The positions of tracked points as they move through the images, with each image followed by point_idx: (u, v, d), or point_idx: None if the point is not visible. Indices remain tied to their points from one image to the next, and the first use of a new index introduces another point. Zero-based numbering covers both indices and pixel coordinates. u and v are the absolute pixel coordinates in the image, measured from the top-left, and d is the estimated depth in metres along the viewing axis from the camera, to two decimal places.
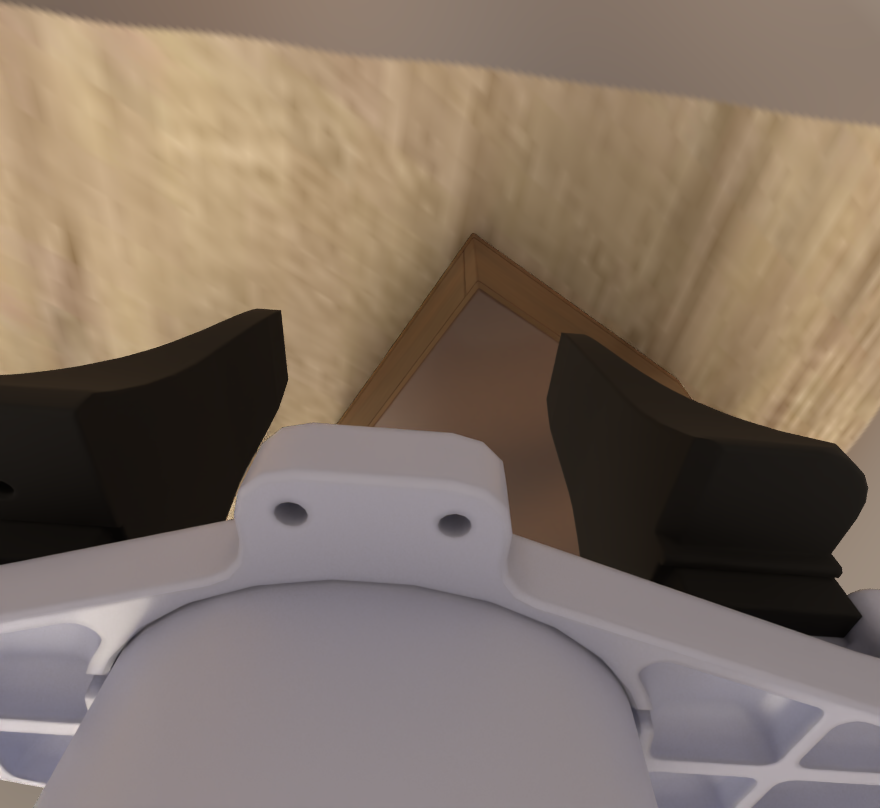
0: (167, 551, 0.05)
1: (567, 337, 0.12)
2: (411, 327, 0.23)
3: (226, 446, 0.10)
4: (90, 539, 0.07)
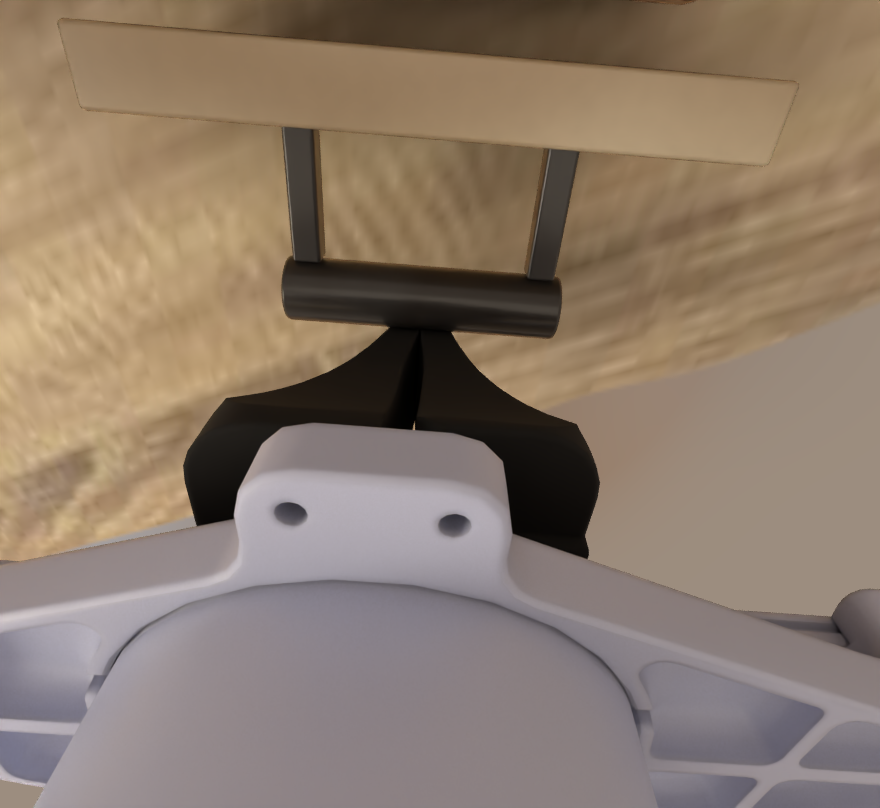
0: (167, 551, 0.05)
1: None
2: None
3: None
4: None
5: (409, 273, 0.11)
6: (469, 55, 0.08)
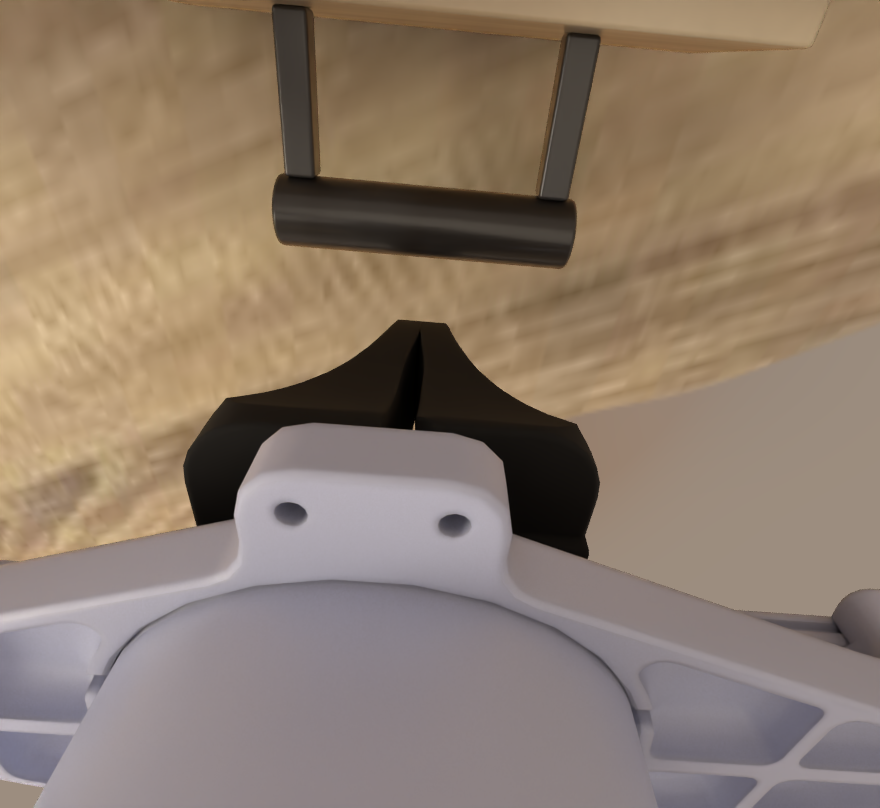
0: (167, 550, 0.05)
1: (421, 326, 0.12)
2: None
3: None
4: None
5: (410, 191, 0.10)
6: None
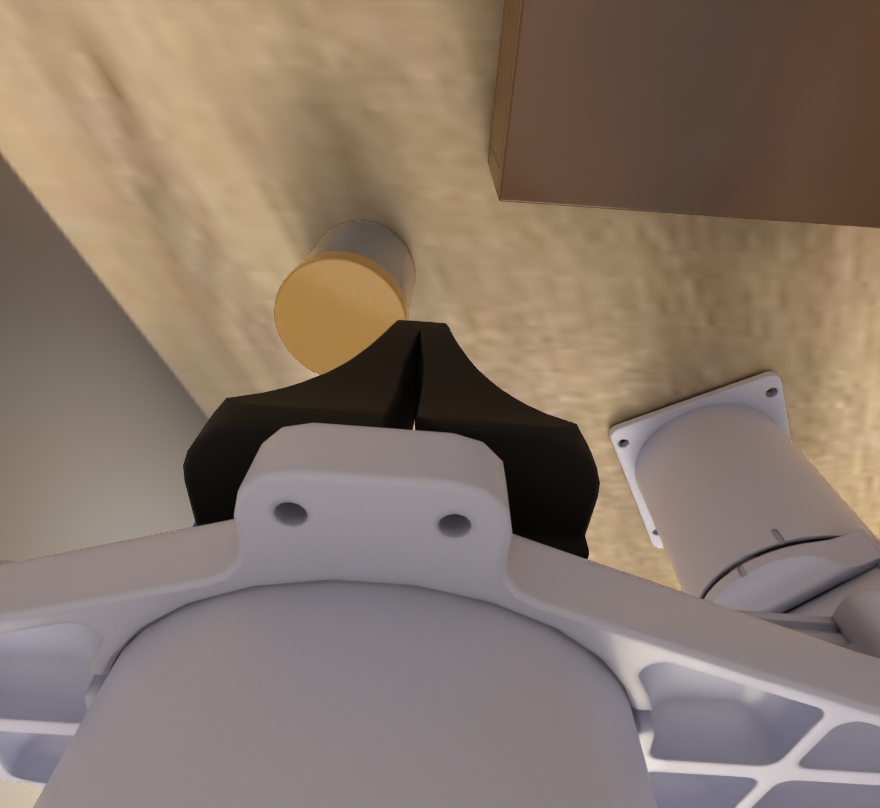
0: (167, 551, 0.05)
1: (421, 325, 0.12)
2: None
3: None
4: None
5: None
6: None
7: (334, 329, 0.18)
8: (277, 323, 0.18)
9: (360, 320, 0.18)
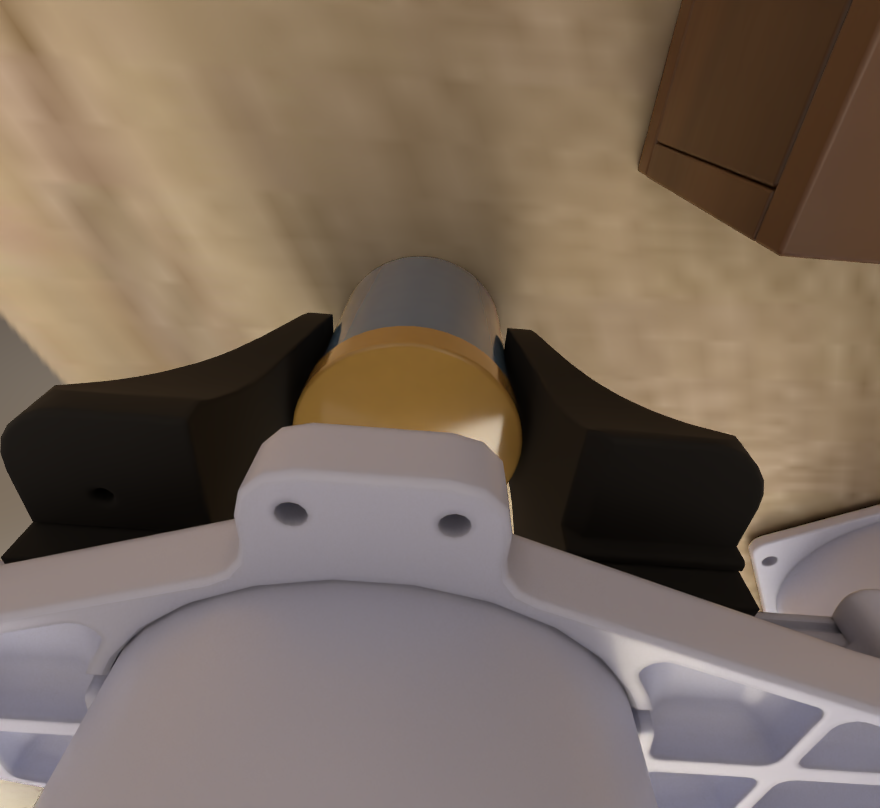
0: (167, 550, 0.05)
1: (511, 332, 0.12)
2: None
3: None
4: None
5: None
6: None
7: None
8: None
9: None
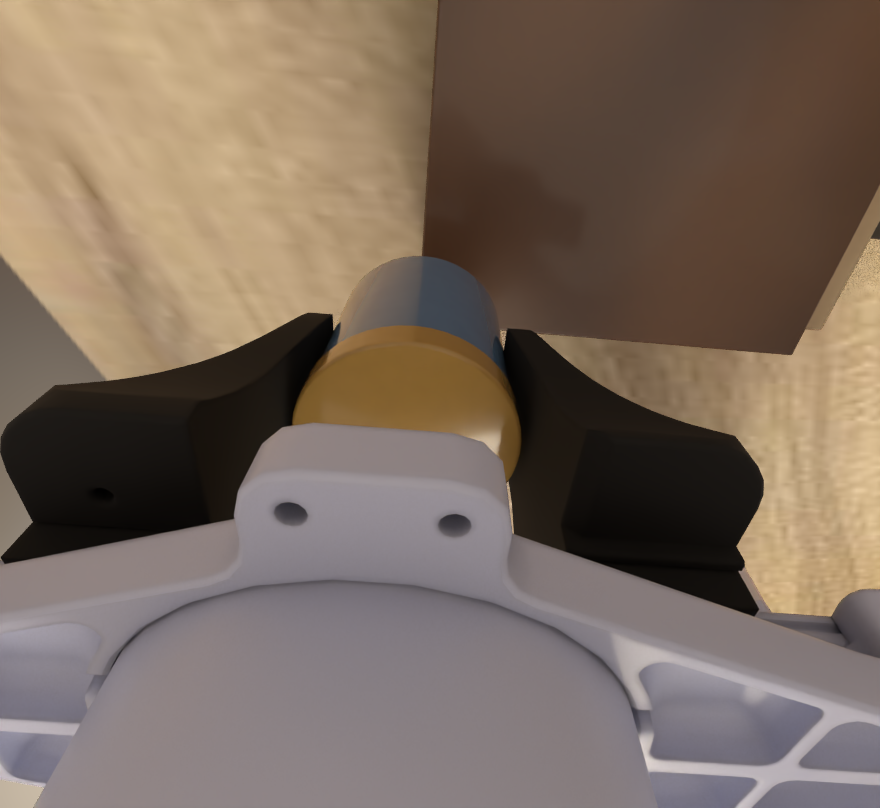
0: (167, 551, 0.05)
1: (511, 333, 0.12)
2: None
3: None
4: None
5: None
6: None
7: None
8: None
9: None
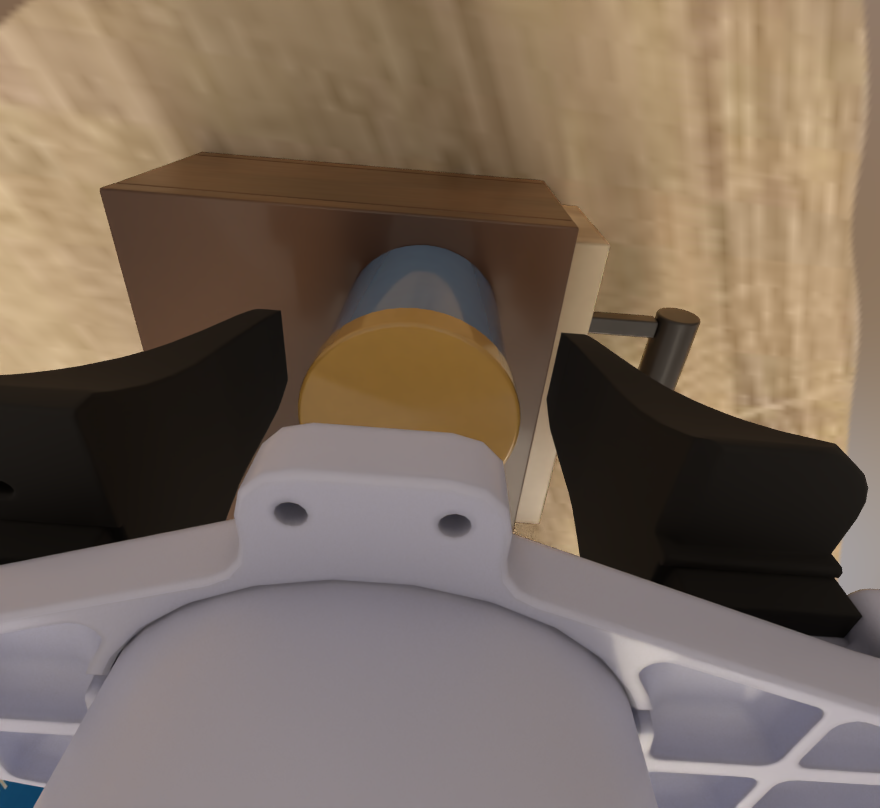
0: (167, 551, 0.05)
1: (567, 337, 0.12)
2: None
3: (226, 446, 0.10)
4: (90, 539, 0.07)
5: None
6: None
7: None
8: (302, 423, 0.11)
9: (442, 421, 0.11)
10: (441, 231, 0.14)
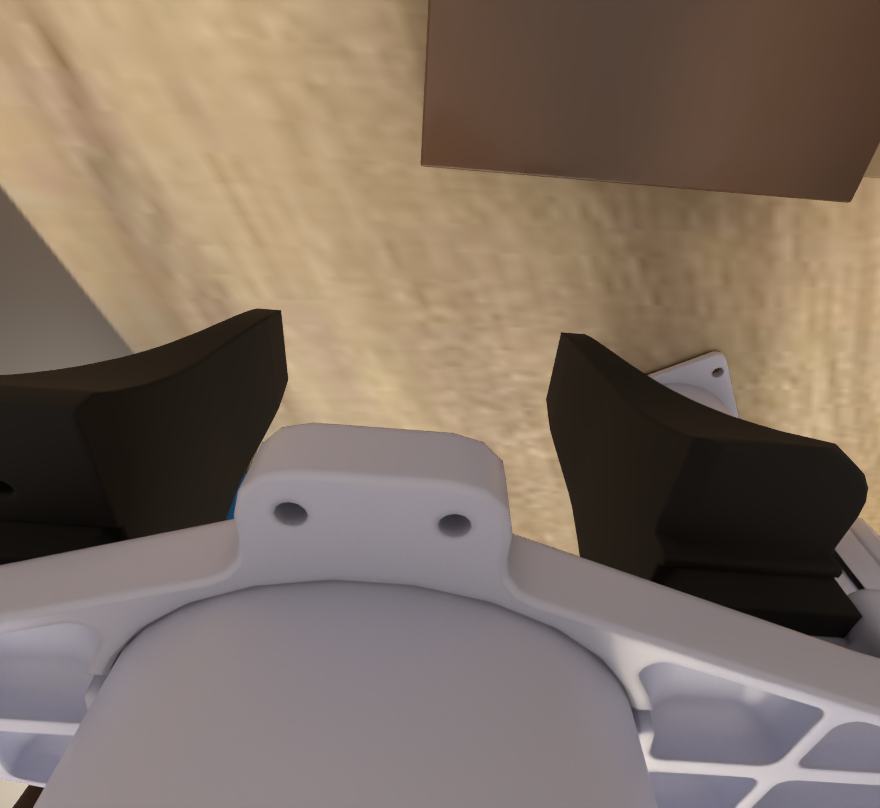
0: (166, 551, 0.05)
1: (567, 337, 0.12)
2: None
3: (226, 446, 0.10)
4: (90, 539, 0.07)
5: None
6: None
7: None
8: None
9: None
10: None
